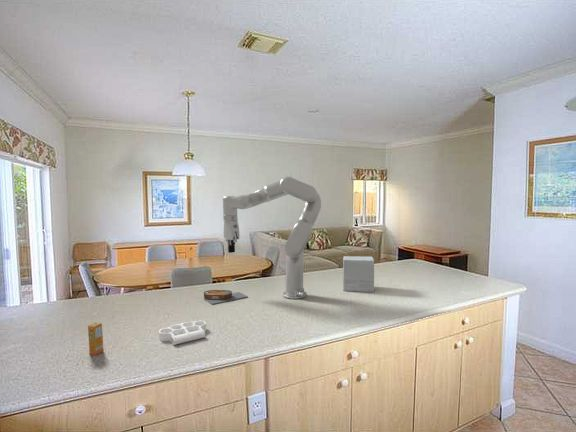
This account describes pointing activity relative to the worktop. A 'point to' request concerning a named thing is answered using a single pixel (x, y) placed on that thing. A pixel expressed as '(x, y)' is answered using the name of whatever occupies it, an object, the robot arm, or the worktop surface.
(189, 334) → the white egg tray
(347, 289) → the supplement box
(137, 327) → the worktop surface
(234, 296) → the gray mat
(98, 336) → the supplement box
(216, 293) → the tin
